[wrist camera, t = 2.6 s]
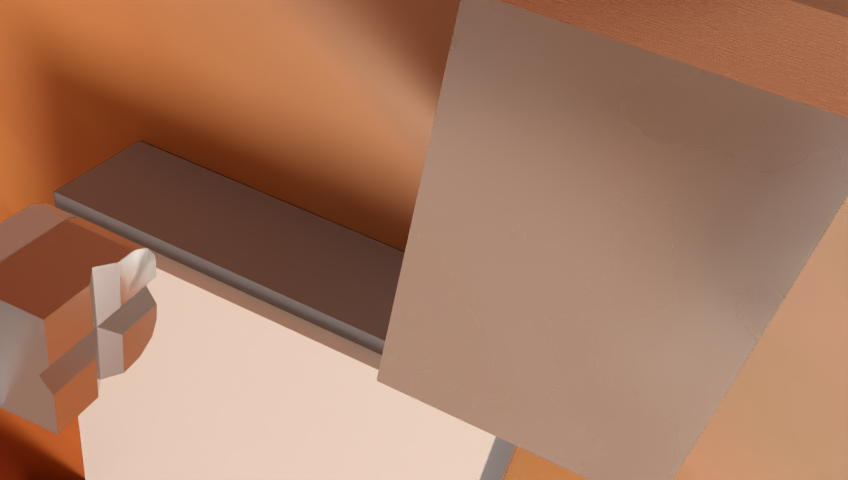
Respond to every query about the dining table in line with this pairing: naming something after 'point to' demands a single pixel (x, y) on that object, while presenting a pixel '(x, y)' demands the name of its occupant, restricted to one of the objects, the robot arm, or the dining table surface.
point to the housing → (615, 217)
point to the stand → (257, 342)
